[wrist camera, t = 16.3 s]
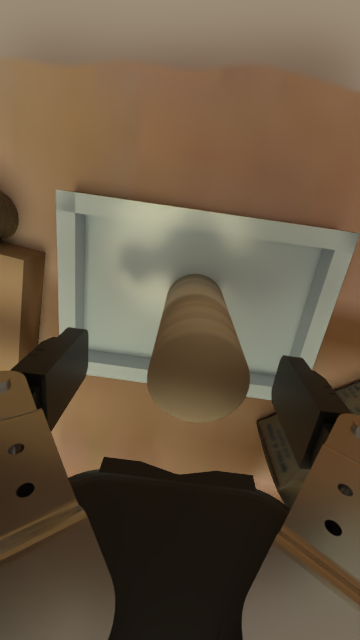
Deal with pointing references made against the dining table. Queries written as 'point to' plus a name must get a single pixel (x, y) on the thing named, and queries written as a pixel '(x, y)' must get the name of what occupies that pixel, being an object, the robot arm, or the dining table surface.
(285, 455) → the beverage carton
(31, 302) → the tan flat block
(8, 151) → the dining table surface
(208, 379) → the tan cylinder
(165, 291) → the tray
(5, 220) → the stop post
